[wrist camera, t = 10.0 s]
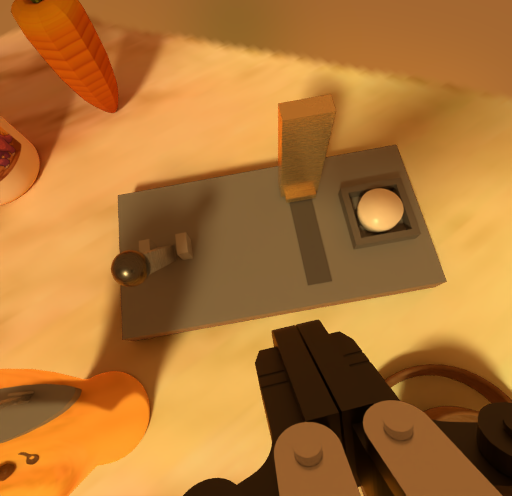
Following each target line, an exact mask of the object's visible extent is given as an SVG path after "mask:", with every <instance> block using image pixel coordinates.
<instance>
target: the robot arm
mask: <svg viewBox="0 0 512 496" xmlns="http://www.w3.org/2000/svg"><path fill="white" fill-rule="evenodd" d="M272 338H273V343H274V347H273V348H269V349H265V350H260V351H259V353H258V356H257V359H256V362H255V366H256V370H257V375H258V380H259V385H260V390H261V395H262V400H263V404H264V409H265V413H266V418H267V422H268V426H269V430H270V435H271V439H272V447H271V451H270V454H269V456H268V458H267V460H266V461H265V463H264V464H263V465H262V467H261V468H260V469H259V470H258V471H256V472H255V473H254V474H253V475H251V476H250V477H248V478H247V479H245V480H244V481H242V482H241V483H239V484H238V485H236V484H235V483H233V482H231V481H229V480H227V479H223V478H212V479H207V480H204V481H202V482H200V483H198V484H196V485H194V486H193V487H192V488H191V489H189V490H188V491H187V492H186V493H185V494H184V495H183V496H361V495H360V493H359V490H358V487H360V486H363V488H364V491H365V493H366V495H367V496H512V403H508V402H497V403H492V404H489V405H486V406H485V407H483V408H482V409H481V410H480V412H479V414H478V422H448V421H438V420H433V419H430V418H429V417H428V416H427V415H426V414H425V413H424V412H423V411H421V410H420V409H419V408H417V407H415V406H413V405H411V404H408V403H405V402H402V401H400V400H399V398H398V397H397V396H396V394H395V393H394V392H393V391H392V389H391V388H390V387H389V385H388V384H387V383H386V381H385V380H384V379H383V378H382V376H381V375H380V374H379V372H378V371H377V370H376V368H375V367H374V366H373V365H372V363H370V362H369V359H368V358H367V357H366V355H365V354H364V353H362V350H361V349H360V348H359V346H358V345H357V344H356V342H355V341H354V340H353V339H352V338H350V337H348V336H347V335H345V334H343V333H341V332H340V331H339V332H335V333H331V334H328V332H327V331H326V329H325V328H324V326H323V325H322V323H321V322H320V320H314V321H310V322H305V323H301V324H297V325H296V326H295V325H293V326H289V327H285V328H280V329H276V330H272Z"/></svg>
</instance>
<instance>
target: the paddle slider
mask: <svg viewBox="0 0 512 496" xmlns="http://www.w3.org/2000/svg"><path fill="white" fill-rule="evenodd" d="M335 113H336V109H335V106H334V103H333V99H332V96H331V94H328V95H323V96H317V97H312V98H306V99H301V100H295V101H290V102H284V103H279V104H278V186H279V190H280V195H281V197H285V200H286V203H289V202H295V201H300V200H306V199H311V198H316V191H318V187H319V182H320V178H321V174H322V169H323V165H324V161H325V156H326V152H327V148H328V144H329V139H330V135H331V131H332V126H333V122H334V118H335Z"/></svg>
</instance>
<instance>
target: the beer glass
mask: <svg viewBox="0 0 512 496" xmlns="http://www.w3.org/2000/svg"><path fill="white" fill-rule="evenodd" d="M149 418H150V404H149V399H148V396H147V393H146V391H145V389H144V387H143V386H142V384H141V383H140V382H139V381H138V380H137V379H136V378H134V377H133V376H131V375H129V374H127V373H124V372H120V371H109V372H104V373H101V374H98V375H96V376H93V377H91V378H89V379H81V378H77V377H73V376H69V375H65V374H60V373H56V372H50V371H43V370H36V369H0V496H69V495H70V494H71V493H72V492H73V491H74V490H75V489H76V488H77V487H78V485H79V484H80V483H81V482H82V481H83V480H84V479H85V478H86V477H87V476H88V475H89V474H90V473H91V472H92V471H93V470H94V469H95V468H96V467H97V466H99V465H104V464H109V463H113V462H115V461H118V460H120V459H122V458H124V457H125V456H127V455H128V454H129V453H131V452H132V451H133V450H134V449H135V448H136V447H137V445H138V444H139V443H140V441H141V440H142V438H143V436H144V434H145V432H146V430H147V427H148V423H149Z"/></svg>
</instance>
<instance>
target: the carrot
mask: <svg viewBox="0 0 512 496" xmlns="http://www.w3.org/2000/svg"><path fill="white" fill-rule="evenodd" d="M11 12H12V14H13V17H14V18H15V20H16V22H17V23H18V25H19V27H20V28H21V30H22V31H23V33H24V35H25V36H26V38H27V39H28V40H29V41H30V42H31V44H32V45H33V46H34V47H35V49H36V50H37V51H38V52H39V53H40V55H41V56H42V57H43V58H44V60H45V61H46V62H47V63H48V64H49V65H50V66H51V68H52V69H53V70H54V71H55V72H56V73H57V75H58V76H59V77H60V78H61V79H62V80H63V81H64V82H65V83H66V84H67V85H68V86H69V87H70V88H72V89H73V90H74V91H75V92H76V93H77V94H78V95H79V96H81V97H82V98H83V99H84V100H85V101H87V102H89V103H90V104H92V105H93V106H95V107H97V108H99V109H101V110H104V111H106V112H109V113H114V112H116V110H117V108H118V89H117V82H116V79H115V76H114V73H113V69H112V67H111V64H110V61H109V58H108V56H107V53H106V51H105V49H104V47H103V45H102V43H101V41H100V39H99V37H98V35H97V33H96V31H95V29H94V27H93V25H92V23H91V21H90V19H89V17H88V15H87V14H86V12H85V10H84V8H83V7H82V5H81V3H80V2H79V1H78V0H15V1H14V2H13V4H12V8H11Z"/></svg>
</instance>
